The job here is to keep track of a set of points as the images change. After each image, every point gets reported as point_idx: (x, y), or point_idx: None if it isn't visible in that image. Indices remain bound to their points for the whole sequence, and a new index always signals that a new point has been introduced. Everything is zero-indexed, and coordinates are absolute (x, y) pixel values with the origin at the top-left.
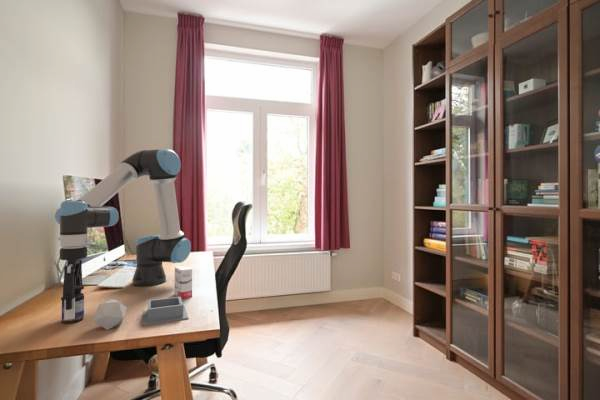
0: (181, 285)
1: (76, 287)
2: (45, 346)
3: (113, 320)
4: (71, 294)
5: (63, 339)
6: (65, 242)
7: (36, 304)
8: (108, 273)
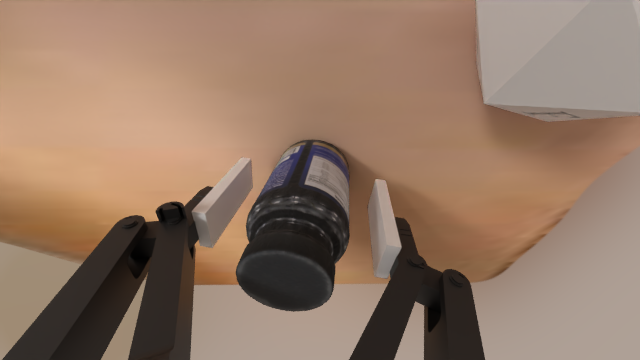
0: None
1: (291, 273)
2: (530, 228)
3: None
4: (471, 297)
5: (513, 193)
6: None
7: None
8: None
